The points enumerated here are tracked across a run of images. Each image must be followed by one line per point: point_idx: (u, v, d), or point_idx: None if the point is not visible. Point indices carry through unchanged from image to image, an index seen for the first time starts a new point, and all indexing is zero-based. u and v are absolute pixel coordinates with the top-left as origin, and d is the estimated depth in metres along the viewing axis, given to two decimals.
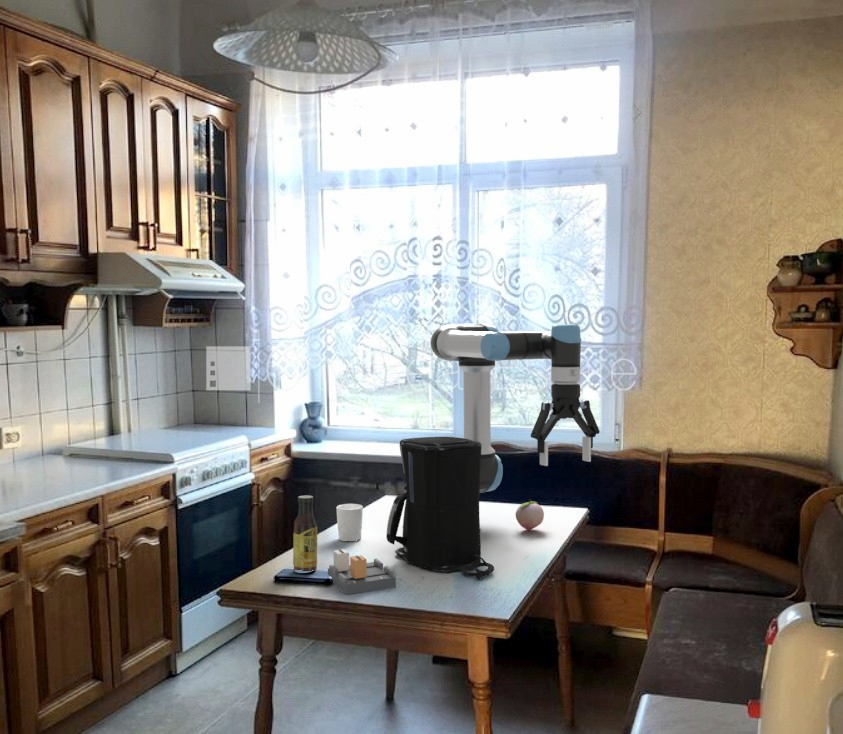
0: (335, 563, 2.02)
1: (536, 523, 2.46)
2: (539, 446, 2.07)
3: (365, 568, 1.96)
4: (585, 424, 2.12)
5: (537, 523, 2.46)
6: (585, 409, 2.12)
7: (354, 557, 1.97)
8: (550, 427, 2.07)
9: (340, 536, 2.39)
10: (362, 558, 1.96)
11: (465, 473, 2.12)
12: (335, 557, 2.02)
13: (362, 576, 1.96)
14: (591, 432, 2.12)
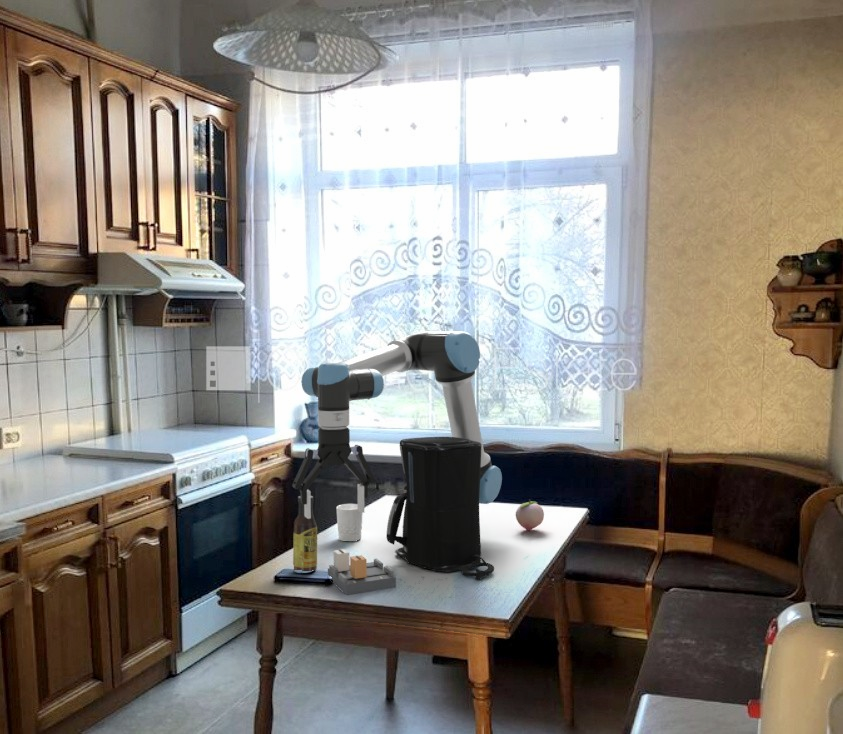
0: (335, 563, 2.02)
1: (536, 523, 2.46)
2: (301, 497, 1.89)
3: (365, 568, 1.96)
4: (357, 472, 1.94)
5: (537, 523, 2.46)
6: (357, 455, 1.94)
7: (354, 557, 1.97)
8: (313, 476, 1.89)
9: (340, 536, 2.39)
10: (362, 558, 1.96)
11: (465, 473, 2.12)
12: (335, 557, 2.02)
13: (362, 576, 1.96)
14: (365, 480, 1.95)
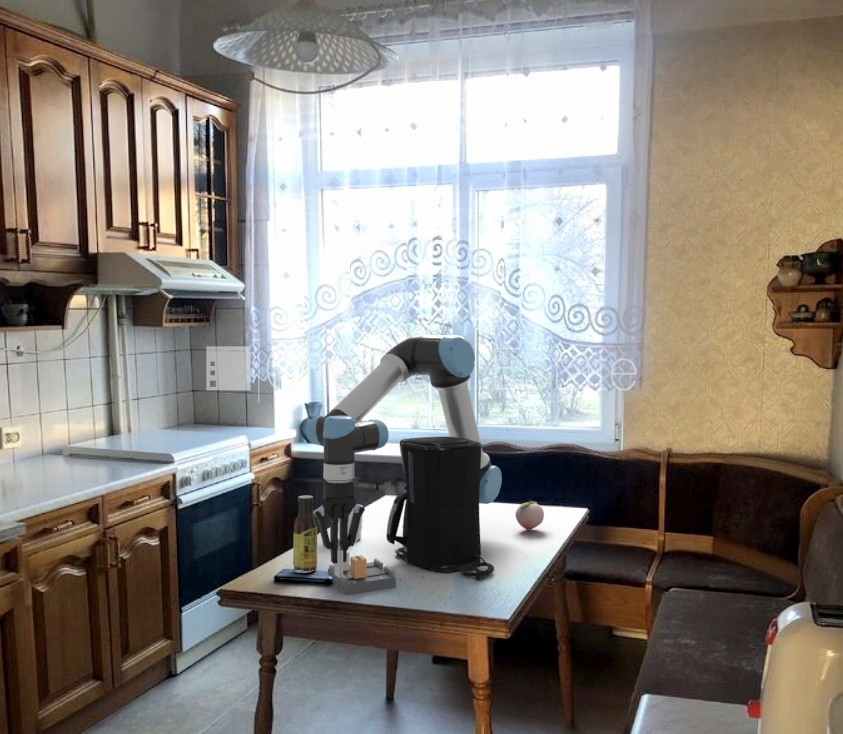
0: None
1: (536, 523, 2.46)
2: (332, 556, 1.94)
3: (365, 568, 1.96)
4: (345, 532, 1.94)
5: (537, 523, 2.46)
6: (356, 514, 1.95)
7: (354, 557, 1.97)
8: (335, 534, 1.93)
9: None
10: (362, 558, 1.96)
11: (465, 473, 2.12)
12: None
13: (362, 576, 1.96)
14: (345, 544, 1.94)
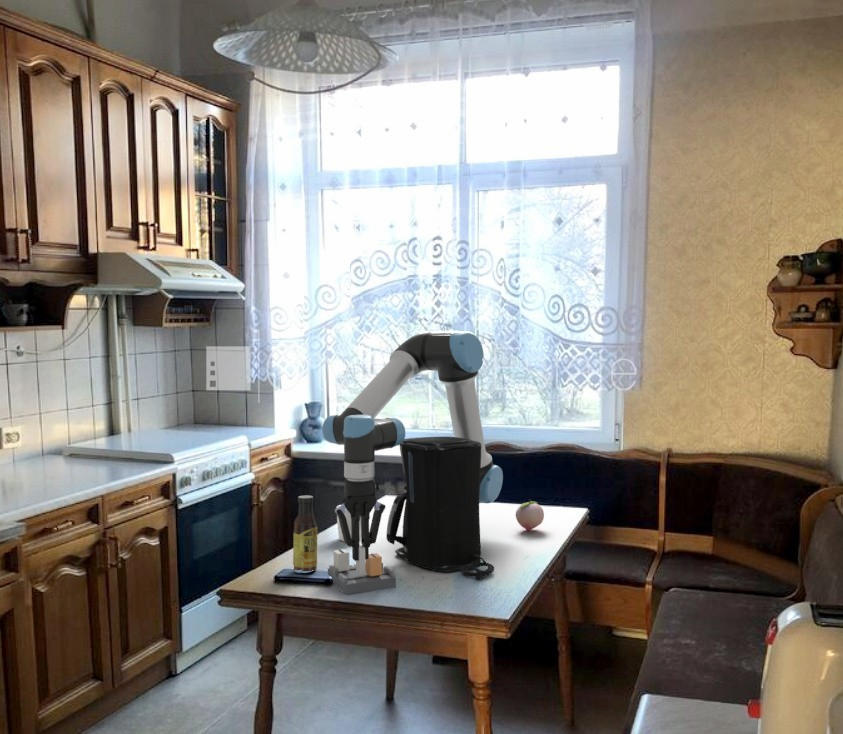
0: (335, 563, 2.02)
1: (536, 523, 2.46)
2: (353, 553, 1.96)
3: (380, 566, 1.97)
4: (367, 530, 1.96)
5: (537, 523, 2.46)
6: (377, 512, 1.98)
7: (369, 555, 1.99)
8: (356, 531, 1.95)
9: (340, 536, 2.39)
10: (377, 556, 1.98)
11: (465, 473, 2.12)
12: (335, 557, 2.02)
13: (377, 574, 1.97)
14: (367, 542, 1.96)
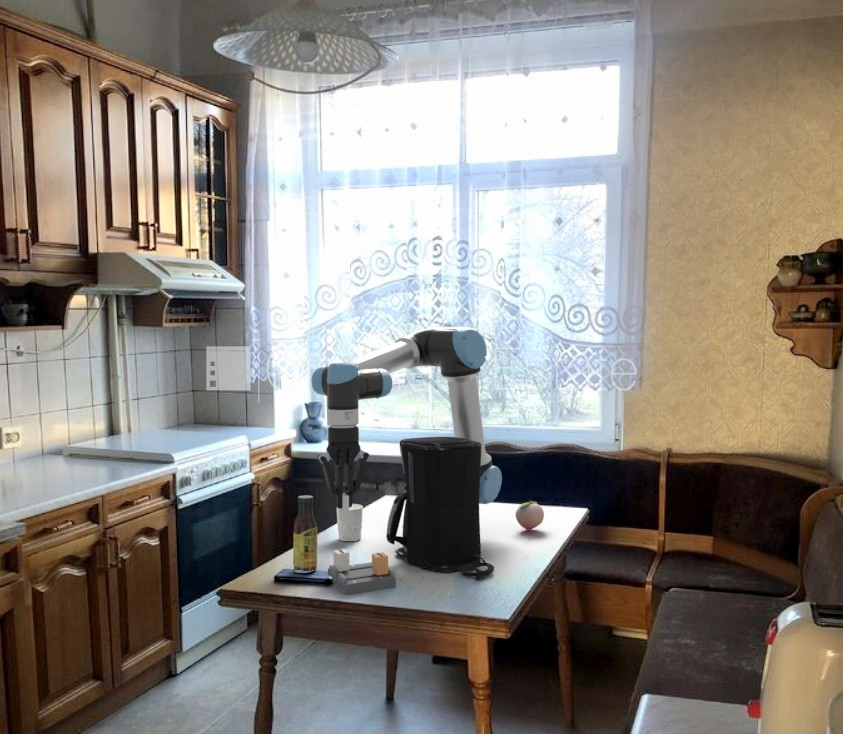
0: (335, 563, 2.02)
1: (536, 523, 2.46)
2: (337, 501, 1.96)
3: (387, 565, 1.98)
4: (351, 477, 1.96)
5: (537, 523, 2.46)
6: (360, 460, 1.98)
7: (376, 554, 2.00)
8: (340, 479, 1.95)
9: (340, 536, 2.39)
10: (384, 555, 1.99)
11: (465, 473, 2.12)
12: (335, 557, 2.02)
13: (384, 573, 1.98)
14: (351, 489, 1.96)
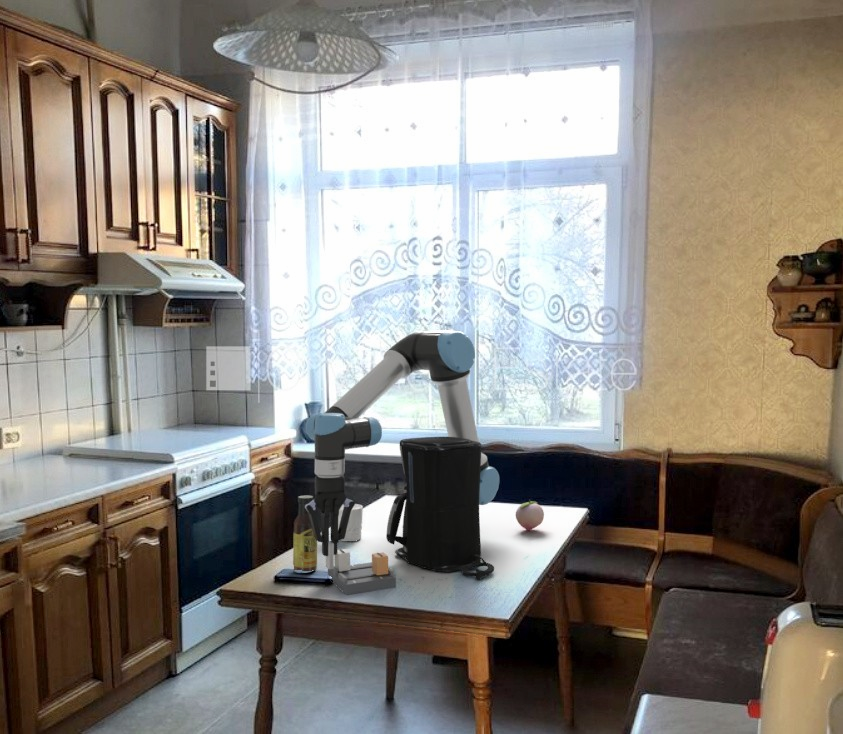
0: (336, 563, 2.02)
1: (536, 523, 2.46)
2: (323, 549, 2.00)
3: (387, 565, 1.98)
4: (336, 526, 2.00)
5: (537, 523, 2.46)
6: (346, 508, 2.02)
7: (376, 554, 2.00)
8: (326, 527, 1.99)
9: None
10: (384, 555, 1.99)
11: (465, 473, 2.12)
12: (336, 557, 2.02)
13: (384, 573, 1.98)
14: (336, 537, 2.00)
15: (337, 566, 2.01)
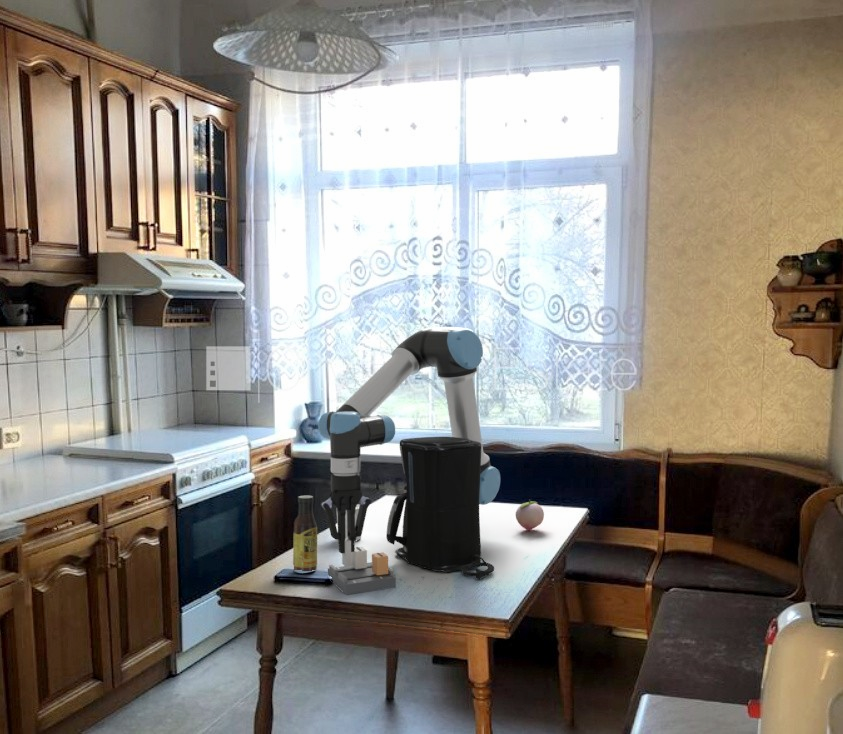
0: (353, 561, 2.04)
1: (536, 523, 2.46)
2: (339, 546, 2.02)
3: (387, 565, 1.98)
4: (353, 523, 2.02)
5: (537, 523, 2.46)
6: (362, 506, 2.03)
7: (376, 554, 2.00)
8: (342, 525, 2.01)
9: None
10: (384, 555, 1.99)
11: (465, 473, 2.12)
12: (353, 555, 2.04)
13: (384, 573, 1.98)
14: (353, 535, 2.02)
15: (354, 564, 2.03)
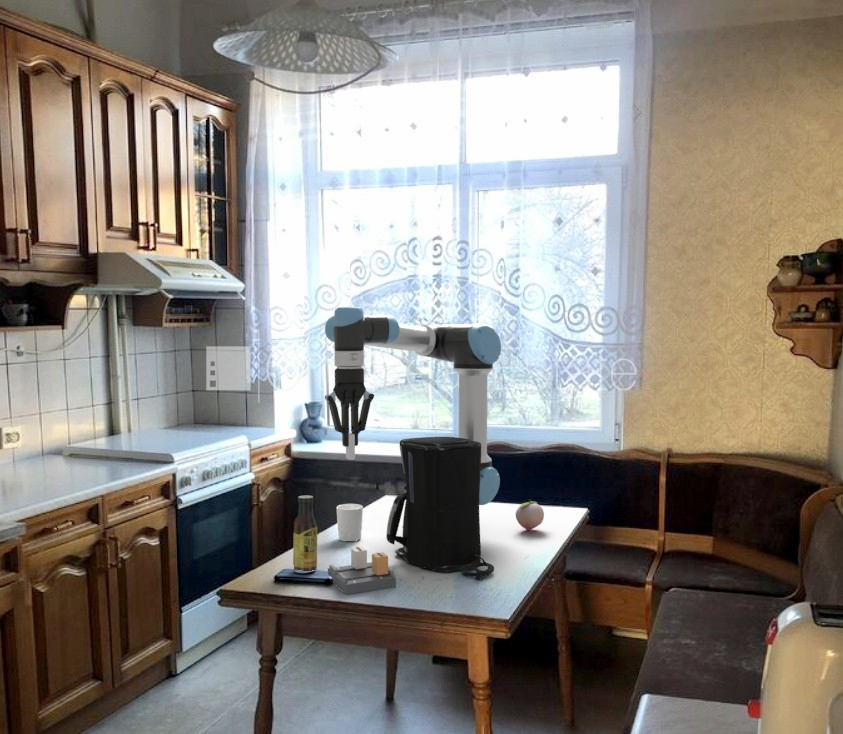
0: (353, 561, 2.04)
1: (536, 523, 2.46)
2: (343, 440, 2.04)
3: (387, 565, 1.98)
4: (356, 417, 2.05)
5: (537, 523, 2.46)
6: (366, 400, 2.06)
7: (376, 554, 2.00)
8: (346, 418, 2.03)
9: (340, 536, 2.39)
10: (384, 555, 1.99)
11: (465, 473, 2.12)
12: (353, 555, 2.04)
13: (384, 573, 1.98)
14: (357, 428, 2.05)
15: (354, 564, 2.03)
